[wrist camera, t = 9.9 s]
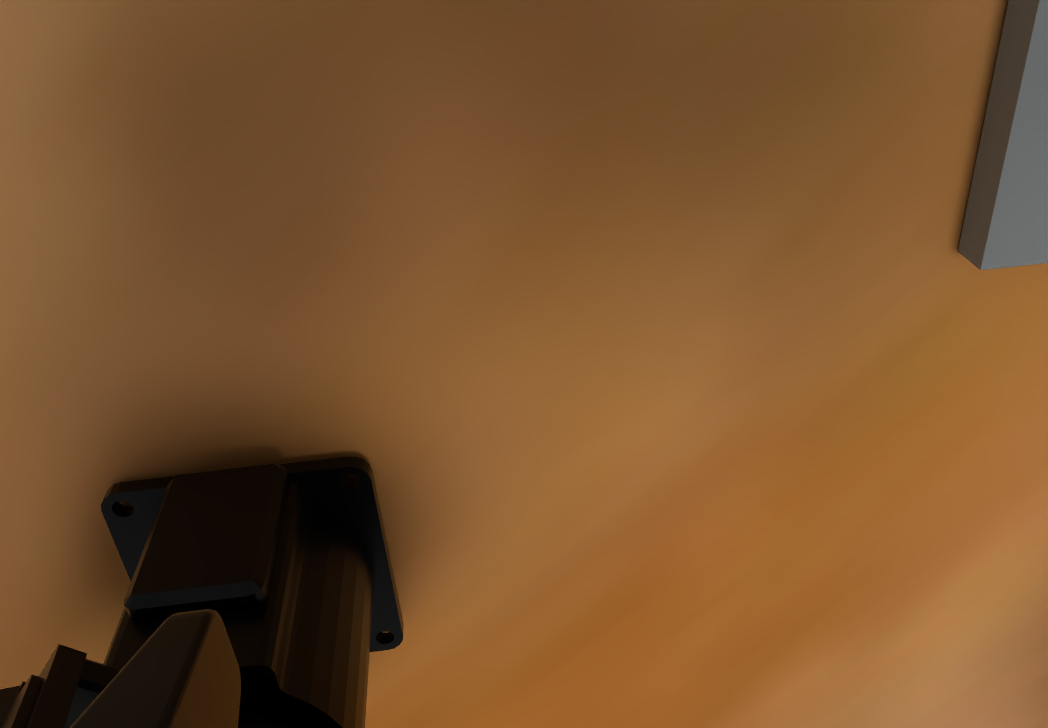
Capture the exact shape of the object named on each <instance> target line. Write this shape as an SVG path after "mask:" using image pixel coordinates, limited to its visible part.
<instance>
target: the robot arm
mask: <svg viewBox="0 0 1048 728" xmlns="http://www.w3.org/2000/svg"><path fill="white" fill-rule="evenodd" d="M347 475H355V476H357V477H359V479H358V480H355V481H349V480H347V479H345V478H344V476H347ZM118 501H126V502H128V503H130V504H131V505H132V506H124V505H122V504H120V503H119V502H118ZM101 509H102V513H103V515H104V518H105V520H106V523H107V525H108V527H109V530H110V532H111V535H112V537H113V539H114V542H115V544H116V547H117V549H118V551H119V554H120V556H121V559H122V561H123V564H124V566H125V568H126V571H127V573H128V576H129V578H130V580H131V584H130V586H129V589H128V592H127V594H126V597H125V599H124V606H125V608H124V610H123V613H122V616H121V618H120V621H119V624H118V626H117V629H116V632H115V634H114V637H113V640H112V642H111V645H110V648H109V650H108V653H107V656H106V658H105V661H104V664H100V663H97V662H94V661H91V660H88V659H86V655H87V653H84V652H81V651H78V650H75V649H72V648H69V647H66V646H63V645H60V644H59V645H58V646H57V648H56V649H55V651H54V652H53V654H52V656H51V657H50V659H49V661H48V662H47V664H46V666H45V667H44V669H43V671H42V672H41V674H40V676H39V677H38V676H35V675H31V676H30V678H29V679H28V681H27V682H22V684H21V686H16V687H11V688H6V689H1V690H0V728H365V714H366V699H367V683H368V667H369V652H375V651H383V650H389V649H393V648H395V647H397V646H398V645H400V643H401V642H402V640H403V620H402V616H401V611H400V606H399V601H398V596H397V591H396V586H395V581H394V576H393V571H392V566H391V561H390V556H389V551H388V546H387V541H386V536H385V531H384V526H383V521H382V516H381V511H380V507H379V502H378V497H377V492H376V487H375V482H374V477H373V472H372V469H371V467H370V465H369V464H368V463H367V462H366V461H365V460H363V459H360V458H358V457H342V458H333V459H324V460H316V461H307V462H298V463H289V464H280V465H276V464H272V465H263V466H254V467H245V468H236V469H228V470H219V471H210V472H201V473H192V474H183V475H177V476H174V477H166V478H157V479H148V480H139V481H130V482H121V483H118V484H114V485H113V486H111V487H110V488H109V489H108V491H107V493H106V495H105V497H104V499H103V502H102V504H101ZM382 631H389V632H388V633H382Z"/></svg>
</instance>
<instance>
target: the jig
mask: <svg viewBox="0 0 1048 728" xmlns="http://www.w3.org/2000/svg"><path fill="white" fill-rule="evenodd" d="M958 252H959V253H960V254H962V255H963V256H964V257H965V258H966V259H968V260H969V261H970V262H971V263H973V264H974V265H975V266H976V267H977V268H979V269H980V270H986V269H995V268H1004V267H1014V266H1023V265H1032V264H1042V263H1048V0H1009V1H1008V6H1007V10H1006V15H1005V20H1004V25H1003V30H1002V35H1001V40H1000V45H999V50H998V55H997V60H996V65H995V70H994V75H993V80H992V85H991V90H990V95H989V100H988V105H987V110H986V115H985V120H984V125H983V130H982V134H981V139H980V144H979V149H978V154H977V159H976V164H975V169H974V174H973V179H972V184H971V189H970V194H969V199H968V204H967V209H966V214H965V219H964V224H963V229H962V234H961V239H960V244H959V249H958Z"/></svg>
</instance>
